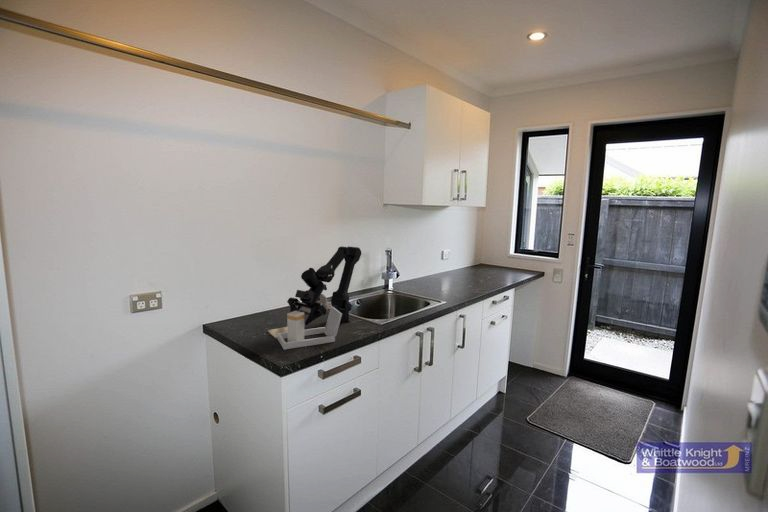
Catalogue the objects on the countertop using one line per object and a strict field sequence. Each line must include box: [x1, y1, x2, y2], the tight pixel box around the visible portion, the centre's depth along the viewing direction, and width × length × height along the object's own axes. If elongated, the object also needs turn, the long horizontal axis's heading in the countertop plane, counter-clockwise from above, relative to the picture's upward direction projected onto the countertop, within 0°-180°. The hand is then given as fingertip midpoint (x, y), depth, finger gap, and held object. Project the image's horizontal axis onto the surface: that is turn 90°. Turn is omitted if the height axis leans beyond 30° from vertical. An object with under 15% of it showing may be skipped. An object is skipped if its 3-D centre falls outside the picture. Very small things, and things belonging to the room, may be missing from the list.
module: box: [286, 311, 306, 342], centre depth 157 cm, size 5×5×13 cm
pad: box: [267, 326, 288, 339], centre depth 169 cm, size 10×10×1 cm
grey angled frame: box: [276, 305, 342, 350], centre depth 161 cm, size 25×13×12 cm, turn 117°
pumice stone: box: [300, 293, 330, 314], centre depth 201 cm, size 15×8×10 cm, turn 76°
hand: (297, 322), depth 158 cm, fingers open, 9 cm apart
